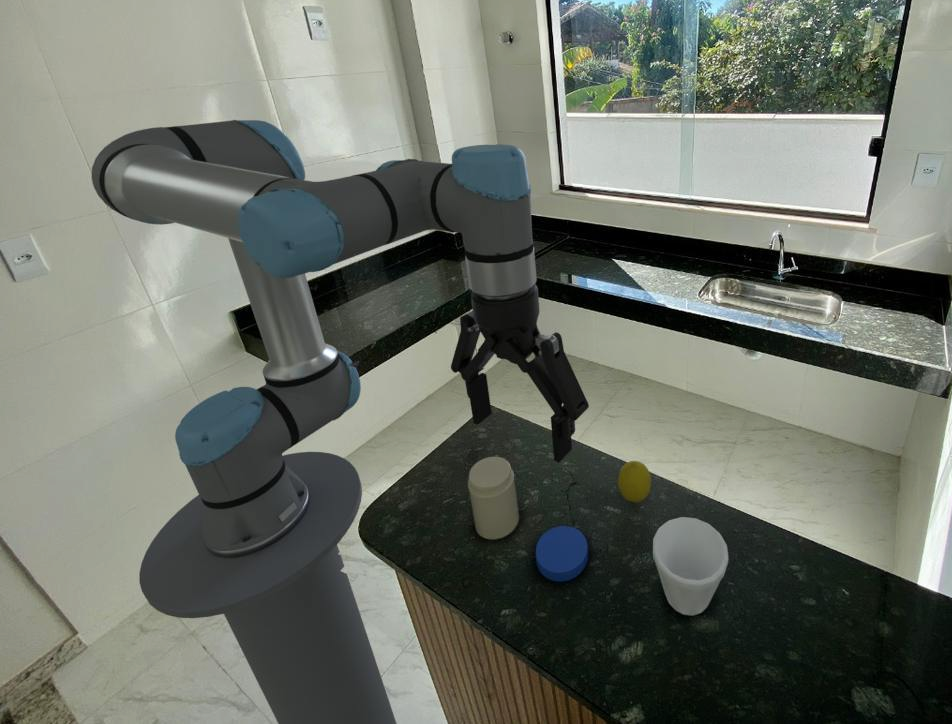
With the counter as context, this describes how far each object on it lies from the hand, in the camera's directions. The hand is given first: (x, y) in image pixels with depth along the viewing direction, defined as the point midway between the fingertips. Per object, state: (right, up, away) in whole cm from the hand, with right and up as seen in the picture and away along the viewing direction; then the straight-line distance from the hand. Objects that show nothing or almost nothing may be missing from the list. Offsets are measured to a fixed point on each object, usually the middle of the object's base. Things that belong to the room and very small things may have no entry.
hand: (520, 435), depth 63 cm
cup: (+23, -24, +5) cm, 33 cm away
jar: (-7, -20, +17) cm, 27 cm away
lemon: (+16, -18, +20) cm, 32 cm away
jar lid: (+5, -21, +10) cm, 23 cm away
